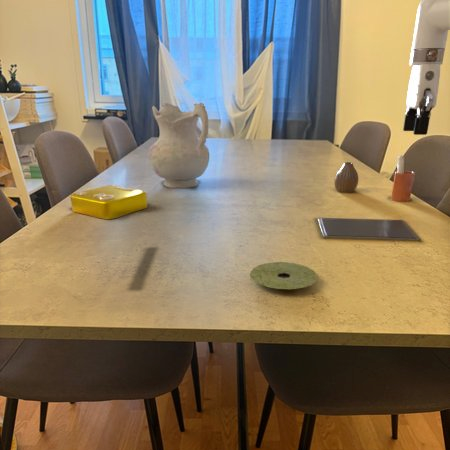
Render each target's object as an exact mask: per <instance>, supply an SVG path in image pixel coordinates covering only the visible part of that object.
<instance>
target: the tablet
mask: <svg viewBox="0 0 450 450" xmlns="http://www.w3.org/2000/svg"><path fill="white" fill-rule="evenodd" d="M317 222H318V225H319V229H320V231H321V235H322V238H323V239H335V240H336V239H338V240H339V239H340V240H365V241H366V240H367V241H369V240H370V241H399V242H400V241H401V242H420V241H421V238H419V237H418V236H417V234H416V233H415V232H414V231H413V230H412V229H411V227H409V225H408V224H407V223H406V222H405V221H404V220H403V219H381V218H379V219H378V218H376V219H375V218H343V217H341V218H339V217H317Z"/></svg>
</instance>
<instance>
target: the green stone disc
mask: <svg viewBox="0 0 450 450" xmlns="http://www.w3.org/2000/svg"><path fill="white" fill-rule="evenodd" d="M249 277H250V279H251V280H252V281H254V282H255V283H257V284H259V285H261V286H263V287H265V288H271V289H276V290H297V289H303V288H307V287H310V286H311V285H314V284H315V283H316V282H317V281H318V277H319V276H318V274H317V272H316V271H315V270H314V269H312V268H310V267H307V266H305V265H303V264H300V263H299V264H298V263H295V262H287V261H276V262H275V261H274V262H267V263H261V264H259V265H257V266H255V267H253V268H252V269H251V271H250V273H249Z"/></svg>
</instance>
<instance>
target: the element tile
mask: <svg viewBox="0 0 450 450" xmlns="http://www.w3.org/2000/svg"><path fill="white" fill-rule="evenodd" d="M69 196H70V197H69V198H70V202H71V203H70V204H71V208H72V209H71V210H72V212H73V213H76V214H81V215H85V216H90V217H94V218H98V219H102V220H114V219H117V218H120V217H123V216H127V215H130V214H132V213H133V214H134V213H136V212H139V211H142V210H145V209H147V208H148V199H147V198H148V197H147V192H146V190H143V189H142V190H141V189H137V188H129V187H126V186H118V185H112V184H108V185H103V186H100V187H96V188H92V189H88V190H84V191H80V192H75V193H72V194H70V195H69Z"/></svg>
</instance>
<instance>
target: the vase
mask: <svg viewBox="0 0 450 450" xmlns="http://www.w3.org/2000/svg"><path fill="white" fill-rule="evenodd" d="M333 182H334V188H335V190H336V192H338V193H344V194H351V193H354V192H355V191H356V189H357V188H358V185H359V174H358V171H357V169H356V168H355V166H354V163H353V162H349V161H345V162H344V163H343V164H342V166H341V167H340V168H339V169H338V171H337V172H336V173H335V177H334V181H333Z"/></svg>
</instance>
